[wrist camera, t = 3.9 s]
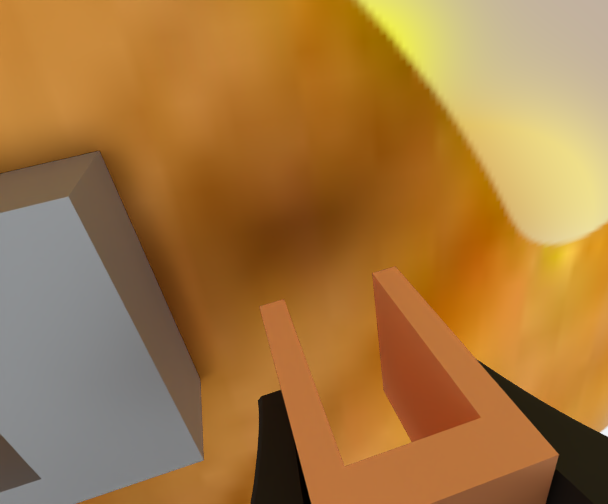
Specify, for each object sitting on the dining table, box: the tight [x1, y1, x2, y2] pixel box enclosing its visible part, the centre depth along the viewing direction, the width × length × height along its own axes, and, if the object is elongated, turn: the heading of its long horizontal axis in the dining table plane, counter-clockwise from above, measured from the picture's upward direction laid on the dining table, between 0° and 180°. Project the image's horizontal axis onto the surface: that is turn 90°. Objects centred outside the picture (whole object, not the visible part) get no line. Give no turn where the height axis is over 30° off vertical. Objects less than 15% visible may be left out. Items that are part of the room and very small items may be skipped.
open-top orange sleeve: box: [259, 267, 559, 504], centre depth 10 cm, size 5×4×6 cm
